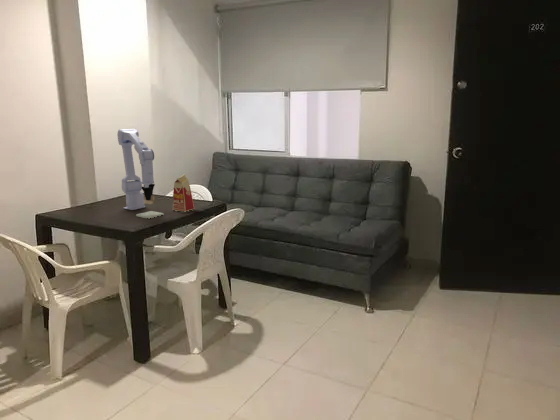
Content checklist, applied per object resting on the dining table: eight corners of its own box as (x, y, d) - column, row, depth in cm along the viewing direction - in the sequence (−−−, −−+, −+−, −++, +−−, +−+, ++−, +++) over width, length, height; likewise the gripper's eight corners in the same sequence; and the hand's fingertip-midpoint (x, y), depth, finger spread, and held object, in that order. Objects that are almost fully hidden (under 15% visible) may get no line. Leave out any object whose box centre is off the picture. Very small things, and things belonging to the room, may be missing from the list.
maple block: (147, 202, 246) (147, 194, 245) (154, 202, 245) (154, 195, 245) (143, 203, 242) (143, 196, 241) (151, 204, 242) (150, 196, 241)
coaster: (151, 212, 252) (151, 210, 252) (164, 215, 247) (163, 213, 246) (136, 216, 244) (136, 214, 244) (149, 218, 239) (149, 216, 238)
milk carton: (182, 207, 264) (181, 172, 260) (195, 209, 260) (193, 174, 255) (171, 211, 257) (169, 174, 252) (183, 212, 252) (182, 176, 248)
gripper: (141, 171, 247) (143, 196, 250) (137, 175, 233) (139, 202, 236) (155, 171, 248) (156, 196, 251) (151, 175, 234) (153, 201, 237)
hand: (149, 199), depth 243 cm, fingers closed on maple block, 5 cm apart
